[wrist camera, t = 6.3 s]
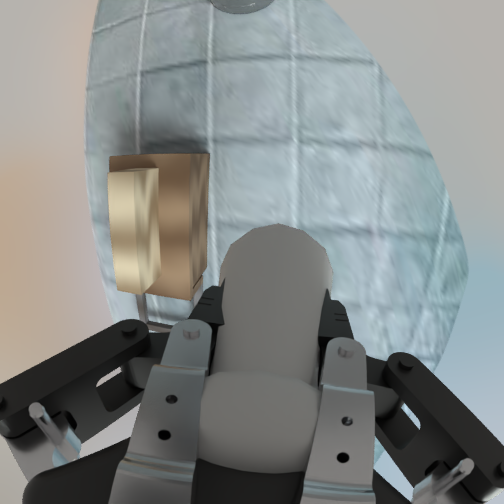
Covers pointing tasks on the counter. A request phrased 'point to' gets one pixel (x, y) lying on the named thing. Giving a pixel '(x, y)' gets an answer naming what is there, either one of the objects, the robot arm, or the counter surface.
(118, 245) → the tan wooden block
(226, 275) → the salt shaker
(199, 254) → the toolbox
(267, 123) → the counter surface
